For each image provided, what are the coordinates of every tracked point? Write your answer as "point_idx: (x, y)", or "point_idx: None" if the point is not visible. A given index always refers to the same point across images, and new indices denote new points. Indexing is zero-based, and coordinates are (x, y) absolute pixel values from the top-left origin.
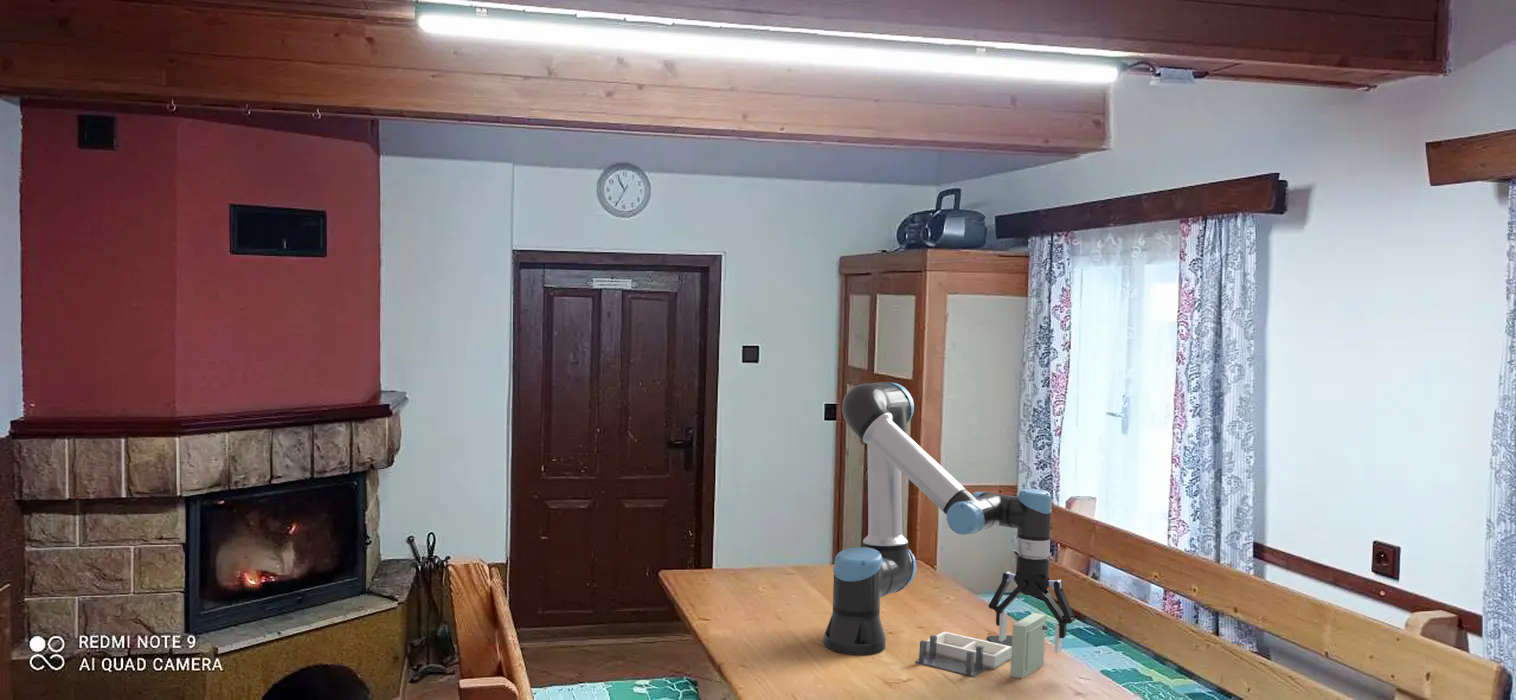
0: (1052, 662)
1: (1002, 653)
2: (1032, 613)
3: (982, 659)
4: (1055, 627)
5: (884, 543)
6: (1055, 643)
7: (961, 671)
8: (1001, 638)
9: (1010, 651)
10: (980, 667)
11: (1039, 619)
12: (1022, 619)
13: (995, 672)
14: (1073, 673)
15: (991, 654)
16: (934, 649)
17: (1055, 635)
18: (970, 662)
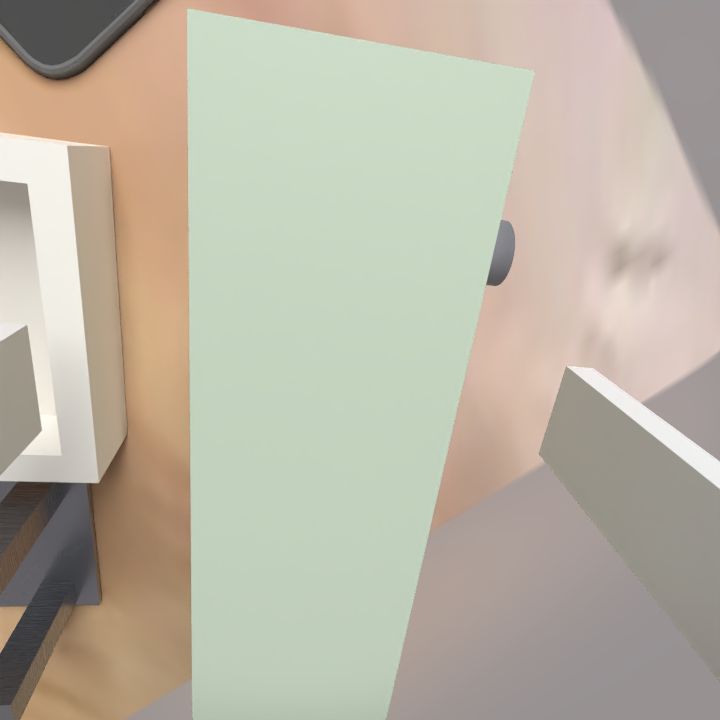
0: (411, 26)
1: (91, 360)
2: (189, 136)
3: (35, 511)
4: (692, 644)
5: None
6: (583, 501)
7: (8, 591)
8: (22, 446)
9: (85, 179)
10: (59, 502)
11: (443, 456)
12: (200, 653)
13: (157, 475)
14: (574, 208)
15: (48, 458)
16: None
17: (629, 562)
18: (41, 664)
